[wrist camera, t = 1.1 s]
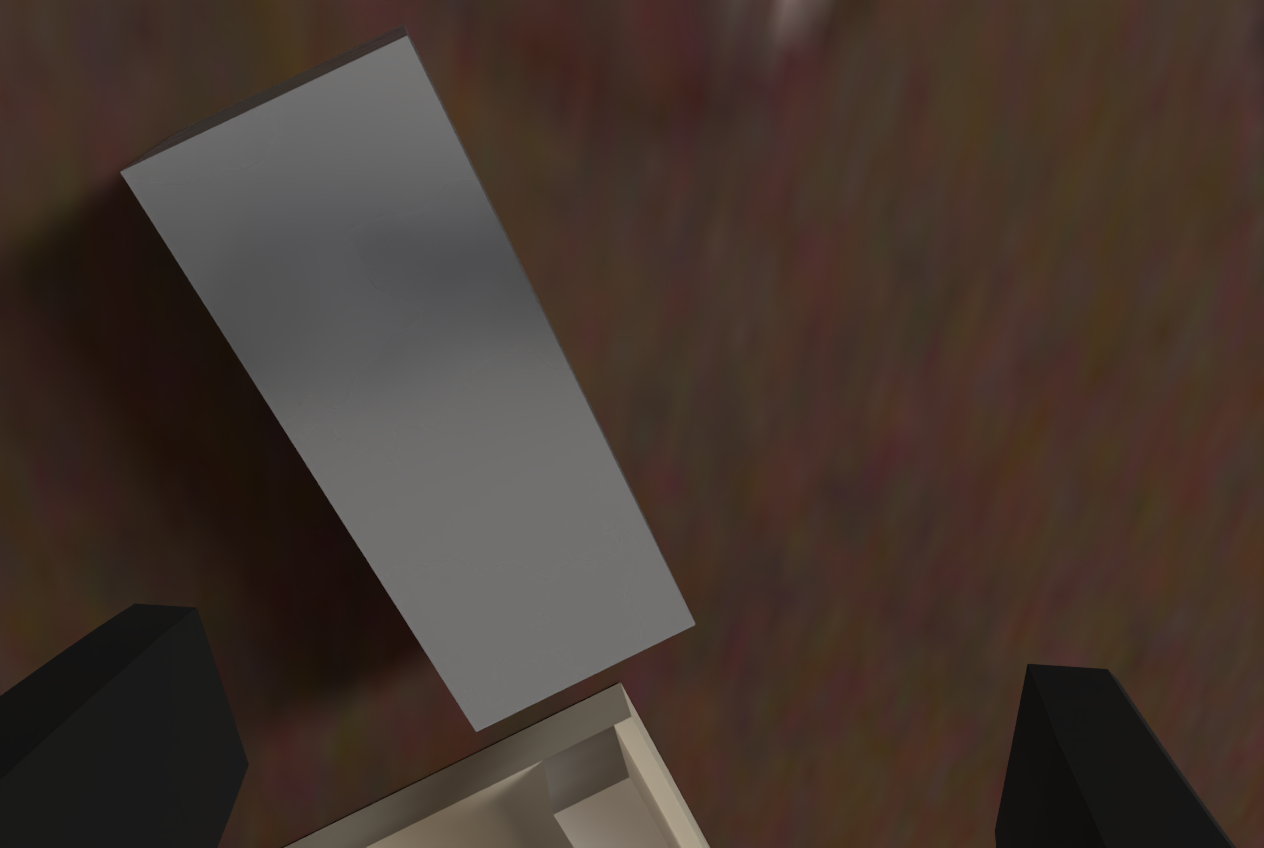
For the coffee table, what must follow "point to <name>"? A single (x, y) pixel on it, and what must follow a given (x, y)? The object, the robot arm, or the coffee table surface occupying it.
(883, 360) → the coffee table surface
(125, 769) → the robot arm
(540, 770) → the cradle
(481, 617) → the grey rectangular block
